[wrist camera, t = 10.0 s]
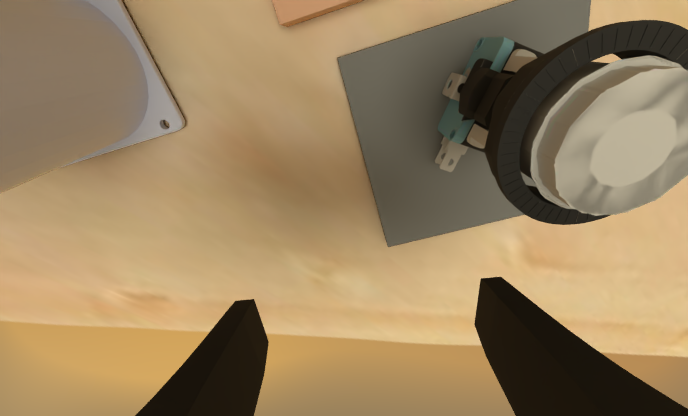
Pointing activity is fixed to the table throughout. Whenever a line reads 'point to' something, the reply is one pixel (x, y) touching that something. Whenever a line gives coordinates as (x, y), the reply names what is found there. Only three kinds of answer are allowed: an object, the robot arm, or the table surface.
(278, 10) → the rectangular frame
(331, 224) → the table surface
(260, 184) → the table surface
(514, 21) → the rubber pad
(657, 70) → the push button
